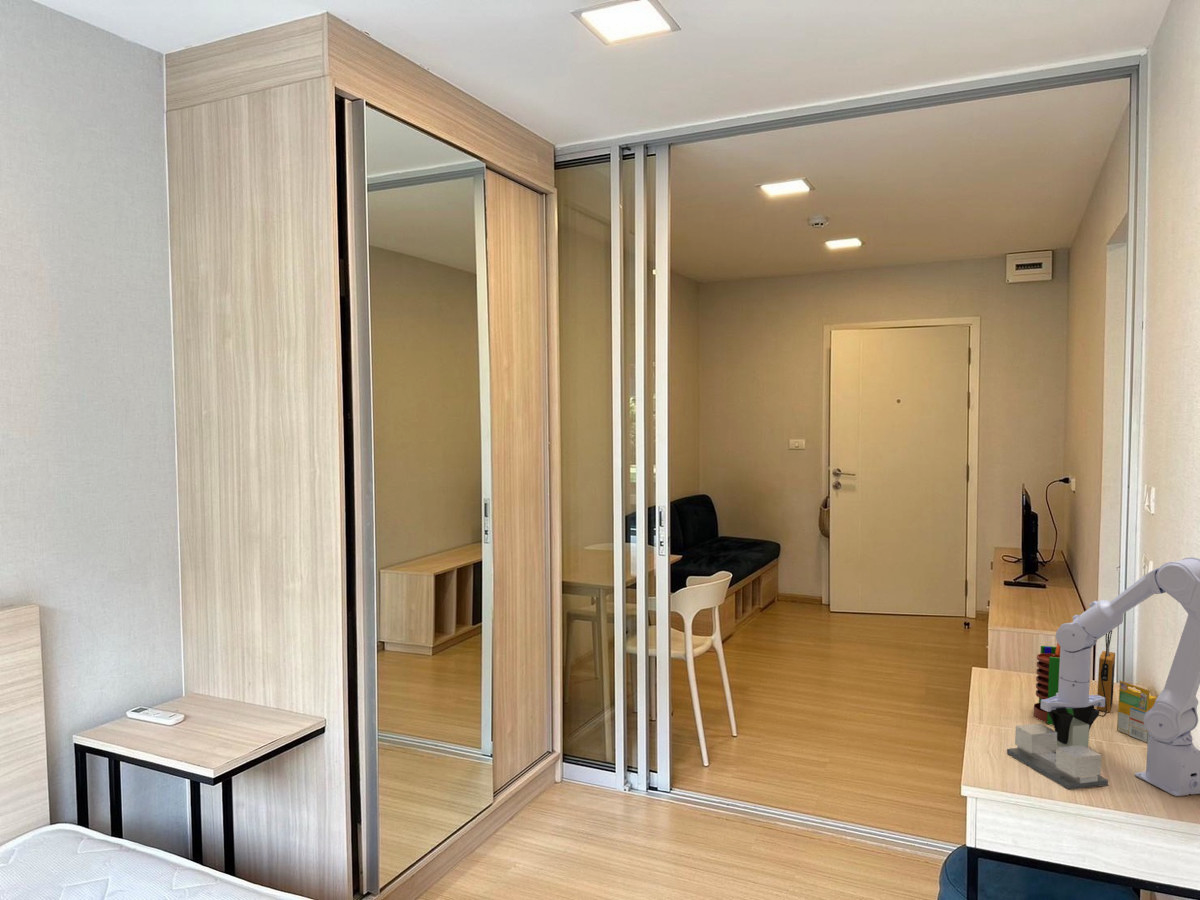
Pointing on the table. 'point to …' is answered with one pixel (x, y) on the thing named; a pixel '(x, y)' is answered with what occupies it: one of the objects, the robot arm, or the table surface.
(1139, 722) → the crayon box
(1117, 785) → the table surface
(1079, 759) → the rail board
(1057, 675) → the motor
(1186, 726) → the robot arm
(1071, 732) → the block
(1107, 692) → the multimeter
